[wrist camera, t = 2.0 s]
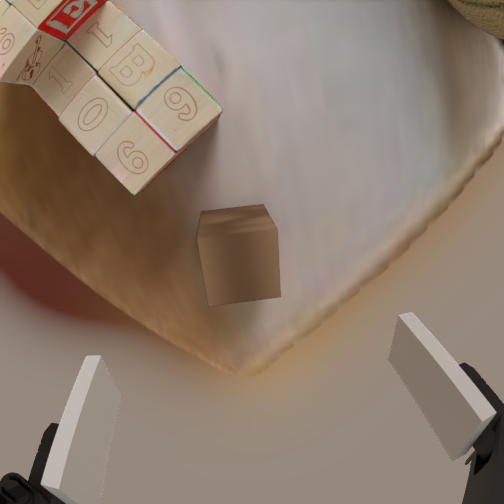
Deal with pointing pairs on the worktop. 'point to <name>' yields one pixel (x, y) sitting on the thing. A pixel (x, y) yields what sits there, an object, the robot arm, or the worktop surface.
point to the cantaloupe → (483, 14)
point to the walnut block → (239, 254)
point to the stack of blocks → (105, 83)
